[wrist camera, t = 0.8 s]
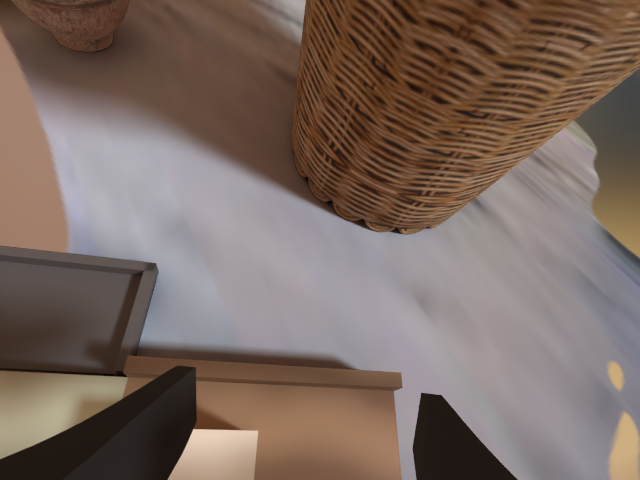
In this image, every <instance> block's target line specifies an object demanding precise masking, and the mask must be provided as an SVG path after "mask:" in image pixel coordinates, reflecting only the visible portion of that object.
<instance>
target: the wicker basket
mask: <svg viewBox="0 0 640 480" xmlns="http://www.w3.org/2000/svg"><path fill="white" fill-rule="evenodd" d="M639 68H640V0H306V5H305V14H304V23H303V32H302V41H301V50H300V59H299V68H298V77H297V87H296V96H295V106H294V117H293V128H292V140H291V148H292V151H294V152H295V164H296V168H297V171H298V173H299V174H300V175H301V176H302V177H308V182H309V186H310V189H311V191H312V192H313V194H314V195H315V196H316V197H317V198H318V199H319V200H321V201H324V202H327V201H330V200H331V201H332V202H333V206H334V209H335V211H336V212H337V213H338V214H339V215H340V216H341V217H343V218H345V219H347V220H350V221H357V220H360V219H364V220H365V224H366V225H367V227H369V228H370V229H372V230H374V231H378V232H387V231H391V230H393V229H395V228H398V230H399V232H400V233H402V234H413V233H416V232H419V231H421V230H423V229H425V228H426V227H428V228H430V229H432V228H434V227H436V226H438V225H440V224H441V223H443V222H444V221H445V220H447V219H448V218H449V217H451V216H452V215H453V214H455V213H456V212H457V211H459V210H460V209H461V208H463V207H464V206H465V205H467V204H468V203H469V202H470V201H472V200H473V199H474V198H476V197H477V196H478V195H480V194H481V193H482V192H483V191H485V190H486V189H487V188H488V187H490V186H491V185H492V184H493V183H495V182H496V181H497V180H499V179H500V178H501V177H502V176H504V175H505V174H506V173H507V172H509V171H510V170H511V169H512V168H514V167H515V166H516V165H517V164H519V163H520V162H521V161H523V160H524V159H525V158H526V157H528V156H529V155H530V154H531V153H533V152H534V151H535V150H536V149H538V148H539V147H540V146H542V145H543V144H544V143H545V142H547V141H548V140H549V139H550V138H552V137H553V136H554V135H555V134H557V133H558V132H559V131H560V130H562V129H563V128H564V127H566V126H567V125H568V124H569V123H571V122H572V121H573V120H574V119H576V118H577V117H578V116H579V115H581V114H582V113H583V112H584V111H586V110H587V109H588V108H589V107H591V106H592V105H593V104H595V103H596V102H597V101H598V100H600V99H601V98H602V97H603V96H605V95H606V94H607V93H609V92H610V91H611V90H612V89H614V88H615V87H616V86H617V85H619V84H620V83H621V82H622V81H624V80H625V79H626V78H627V77H629V76H630V75H631V74H633V73H634V72H635V71H636V70H638V69H639Z"/></svg>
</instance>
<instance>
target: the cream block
mask: <svg viewBox="0 0 640 480" xmlns="http://www.w3.org/2000/svg"><path fill="white" fill-rule="evenodd" d="M257 439H258V431H247V430H206V429H193V431H192V434H191V436H190V438H189V441H188V443H187V445H186V447H185V449H184V452H183V454H182V455H181V457H180V459H179V461H178V462H177V464H176V466H175V468H174V469H173V471H172V473H171V475H170V476H169V478H168V480H254V473H255V461H256V450H257Z"/></svg>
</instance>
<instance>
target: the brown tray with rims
mask: <svg viewBox="0 0 640 480" xmlns="http://www.w3.org/2000/svg"><path fill="white" fill-rule="evenodd" d="M177 365H180V366H189V367H196V404H197V422H196V424H195V427H194V429H206V430H247V431H258V439H257V450H256V461H255V473H254V480H402V478H401V468H400V457H399V446H398V435H397V424H396V413H395V402H394V391H395V390H397V389H400V388H402V379H401V373H398V372H382V371H366V370H350V369H334V368H318V367H302V366H287V365H271V364H255V363H239V362H223V361H207V360H191V359H176V358H160V357H144V356H128V357H127V360H126V364H125V367H124V371H123V373H124V374H125V375H126V376H127V377H113V376H94V375H74V374H55V373H35V372H16V371H0V459H2V458H4V457H7V456H9V455H11V454H14V453H16V452H19V451H21V450H23V449H26V448H28V447H31V446H33V445H35V444H37V443H40V442H42V441H44V440H46V439H48V438H50V437H52V436H54V435H57V434H59V433H61V432H63V431H65V430H67V429H69V428H71V427H73V426H75V425H77V424H79V423H81V422H82V421H84V420H86V419H88V418H90V417H91V416H93V415H95V414H97V413H99V412H100V411H102V410H104V409H106V408H107V407H109V406H111V405H113V404H114V403H116V402H118V401H120V400H121V399H123V398H125V397H126V396H128V395H130V394H131V393H133V392H134V391H136V390H138V389H139V388H141V387H143V386H144V385H146V384H147V383H149V382H151V381H152V380H154V379H155V378H157V377H159V376H160V375H162V374H164V373H165V372H167V371H168V370H170V369H172V368H174V367H176V366H177Z"/></svg>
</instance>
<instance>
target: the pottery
mask: <svg viewBox="0 0 640 480" xmlns="http://www.w3.org/2000/svg"><path fill="white" fill-rule="evenodd" d="M11 1H12V2H13V3H14V4H15V6H16V7H17V8H18V9H19V10H20V11H21V12H22V13H24V14H25V15H26V16H27V17H28V18H29V19H30V20H31V21H33V22H34V23H36V24H37V25H39V26H40V27H42V28H44V29H45V30H47V31H49V32H51V33H53V34H54V36H55V38H56V40H57V41H58V42H59V43H60V44H62V45H63V46H65V47H67V48H69V49H72V50H77V51H83V52H95V51H99V50H103V49H105V48H107V47H109V46H110V45H111V43H112V41H113V34H112V32H113V31H114V30H115V29H116V28H117V27H118V26H119V25H120V23H121V22H122V20H123V19H124V17H125V15H126V12H127V9H128V4H129V0H11Z"/></svg>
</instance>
